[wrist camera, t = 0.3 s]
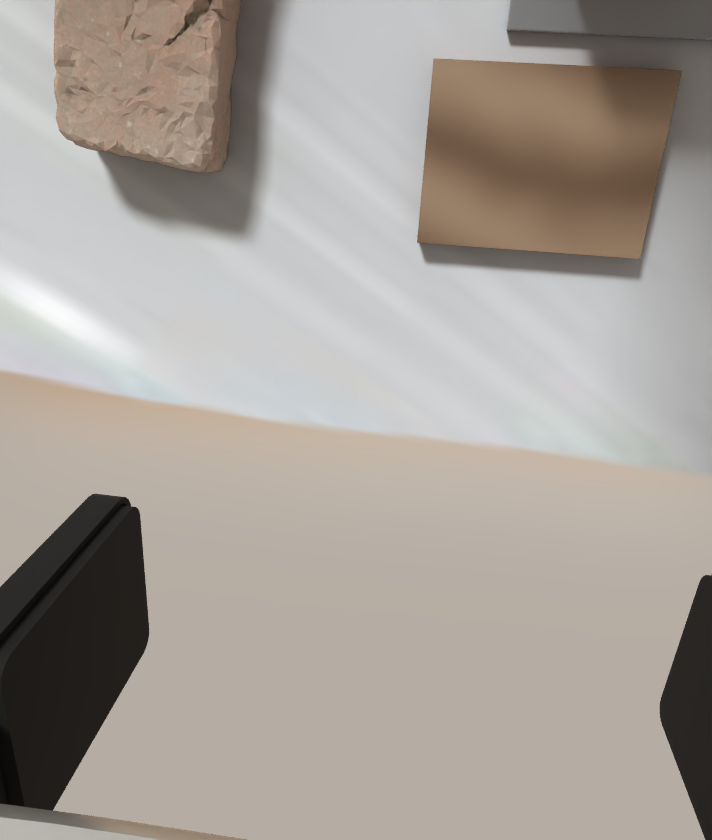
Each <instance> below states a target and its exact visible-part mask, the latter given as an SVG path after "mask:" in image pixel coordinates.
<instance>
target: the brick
mask: <svg viewBox="0 0 712 840" xmlns="http://www.w3.org/2000/svg"><path fill="white" fill-rule="evenodd" d="M240 8H241V0H55V20H54V34H55V38H54V66H55V68H56V71H57V73H56V76H55V79H54V90H55V97H56V101H57V113H56V120H57V123H58V127H59V130H60V132H61V133H62V134H63V136H64V137H65V138H66V139H68V140H71V141H73V142H74V143H75V144H76V145H79V146H81V147H84V148H86V149H91V150H96V151H105V150H107V151H110V152H112V153H114V154H117V155H120V156H130V157H134V158H137V159H140V160H144V161H154V162H159V163H161V164H162V165H167V166H170V167H174V168H178V169H182V170H188V171H193V172H214V171H220V170H221V169H222V168H223V166H224V161H225V159H226V158H227V145H228V142H229V139H230V122H231V97H230V88H231V80H232V76H233V71H234V67H235V62H236V56H237V48H236V44H237V43H236V29H237V24H238V20H239V17H240Z"/></svg>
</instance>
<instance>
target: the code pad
mask: <svg viewBox="0 0 712 840" xmlns="http://www.w3.org/2000/svg"><path fill="white" fill-rule="evenodd" d="M507 31H523V32H546V33H568V34H590V35H612V36H634V37H657V38H679V39H701V40H712V0H511V1H510V9H509V16H508V24H507Z"/></svg>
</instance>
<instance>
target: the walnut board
mask: <svg viewBox="0 0 712 840" xmlns="http://www.w3.org/2000/svg"><path fill="white" fill-rule="evenodd" d="M681 72H682V71H677V70H657V69H637V68H616V67H596V66H576V65H555V64H535V63H515V62H494V61H474V60H454V59H434V61H433V72H432V84H431V95H430V106H429V117H428V128H427V139H426V151H425V162H424V173H423V184H422V195H421V207H420V218H419V229H418V240H417V243H430V244H444V245H457V246H471V247H485V248H498V249H512V250H525V251H539V252H553V253H566V254H580V255H594V256H607V257H621V258H635V259H640V256H641V251H642V247H643V243H644V238H645V234H646V229H647V225H648V220H649V216H650V211H651V207H652V202H653V198H654V193H655V189H656V184H657V180H658V175H659V171H660V166H661V162H662V157H663V153H664V149H665V144H666V140H667V135H668V131H669V126H670V122H671V117H672V113H673V108H674V104H675V99H676V95H677V90H678V86H679V81H680V77H681Z"/></svg>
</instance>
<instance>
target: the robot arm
mask: <svg viewBox="0 0 712 840" xmlns="http://www.w3.org/2000/svg"><path fill="white" fill-rule="evenodd" d="M148 637H149V622H148V609H147V597H146V584H145V572H144V559H143V547H142V534H141V521H140V513H139V510H138V508H136V507H131V504H130V502H129V500H128V499H127V498H126V497H118V496H109V495H101V494H92V495H91V496H89V497H88V498H87V499H86V500H85V501H84V502H83V503H82V504H81V505H80V506H79V507H78V508H77V509H76V510H75V511H74V513H72V514H71V515H70V516H69V518H68V519H67V520H66V521H65V522H64V523H63V524H62V525H61V526H60V527H59V528H58V529H57V530H56V531H55V532H54V533H53V534H52V535H51V536H50V537H49V538H48V539H47V540H46V541H45V542H44V543H43V544H42V545H41V546H40V547H39V548H38V549H37V550H36V551H35V552H34V553H33V554H32V555H31V556H30V557H29V558H28V559H27V560H26V561H25V562H24V563H23V564H22V566H21V567H19V568H18V569H17V571H16V572H15V573H14V574H13V575H12V576H11V577H10V578H9V579H8V580H7V581H6V582H5V583H4V584H3V585H2V586H1V587H0V840H246V839H239V838H233V837H226V836H220V835H214V834H207V833H200V832H194V831H187V830H181V829H175V828H168V827H162V826H155V825H149V824H142V823H136V822H130V821H123V820H116V819H109V818H103V817H95V816H88V815H81V814H73V813H66V812H58V811H53V809H54V807H55V805H56V804H57V802H58V800H59V799H60V797H61V795H62V793H63V792H64V790H65V788H66V786H67V785H68V783H69V781H70V780H71V778H72V776H73V774H74V773H75V771H76V769H77V767H78V766H79V764H80V762H81V760H82V758H83V757H84V755H85V754H86V752H87V750H88V748H89V747H90V745H91V743H92V741H93V740H94V738H95V736H96V735H97V733H98V731H99V729H100V728H101V726H102V724H103V722H104V720H105V719H106V717H107V715H108V714H109V712H110V710H111V708H112V707H113V705H114V703H115V702H116V700H117V698H118V696H119V694H120V693H121V691H122V689H123V688H124V686H125V684H126V683H127V681H128V679H129V677H130V676H131V674H132V672H133V670H134V668H135V667H136V665H137V663H138V662H139V660H140V658H141V657H142V655H143V653H144V651H145V648H146V646H147V642H148ZM660 718H661V722H662V726H663V728H664V731H665V734H666V736H667V739H668V741H669V744H670V747H671V750H672V752H673V755H674V757H675V760H676V763H677V765H678V768H679V771H680V773H681V776H682V779H683V781H684V784H685V787H686V789H687V792H688V795H689V797H690V800H691V803H692V805H693V808H694V810H695V813H696V816H697V819H698V821H699V824H700V826H701V829H702V832H703V834H704V837H705V839H706V840H712V576H709V575H705V576H703V577H702V579H701V580H700V583H699V585H698V588H697V591H696V595H695V597H694V600H693V604H692V606H691V609H690V612H689V616H688V618H687V621H686V624H685V628H684V631H683V634H682V637H681V640H680V643H679V646H678V649H677V652H676V655H675V658H674V661H673V664H672V667H671V670H670V673H669V676H668V679H667V682H666V685H665V688H664V691H663V694H662V697H661V701H660Z"/></svg>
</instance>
